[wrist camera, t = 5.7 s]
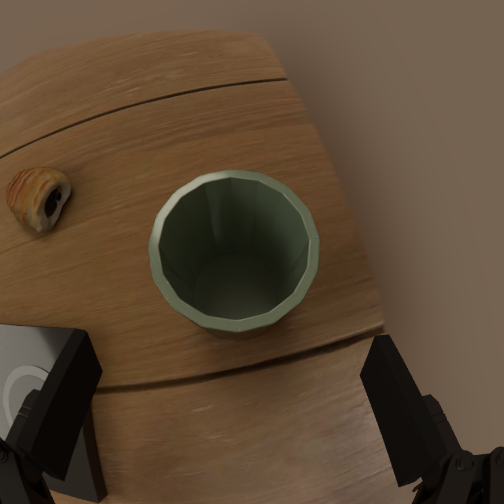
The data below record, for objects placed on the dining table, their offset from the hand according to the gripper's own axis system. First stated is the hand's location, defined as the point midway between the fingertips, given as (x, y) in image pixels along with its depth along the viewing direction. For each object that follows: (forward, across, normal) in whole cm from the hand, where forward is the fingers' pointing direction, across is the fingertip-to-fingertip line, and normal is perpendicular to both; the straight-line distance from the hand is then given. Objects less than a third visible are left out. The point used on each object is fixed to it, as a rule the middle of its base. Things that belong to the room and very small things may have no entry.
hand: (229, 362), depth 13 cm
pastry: (+18, -21, +2) cm, 28 cm away
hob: (+2, -22, -13) cm, 26 cm away
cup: (+11, 0, -4) cm, 12 cm away
